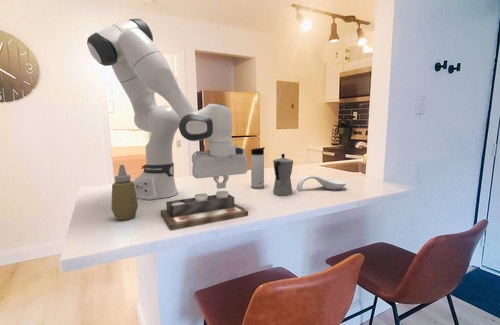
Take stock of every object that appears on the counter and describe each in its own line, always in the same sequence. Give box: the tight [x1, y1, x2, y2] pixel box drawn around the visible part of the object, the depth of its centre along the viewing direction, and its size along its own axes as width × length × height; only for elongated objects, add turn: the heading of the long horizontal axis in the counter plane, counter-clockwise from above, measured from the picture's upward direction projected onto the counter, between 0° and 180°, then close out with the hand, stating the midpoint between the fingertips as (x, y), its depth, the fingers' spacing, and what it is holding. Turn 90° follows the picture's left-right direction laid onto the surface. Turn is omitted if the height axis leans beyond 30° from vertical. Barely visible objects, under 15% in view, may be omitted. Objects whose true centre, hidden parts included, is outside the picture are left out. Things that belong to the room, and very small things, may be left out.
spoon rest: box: [296, 174, 347, 192], centre depth 127 cm, size 24×12×7 cm, turn 102°
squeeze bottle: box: [111, 164, 139, 221], centre depth 88 cm, size 8×8×18 cm
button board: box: [160, 193, 249, 231], centre depth 91 cm, size 26×16×5 cm, turn 119°
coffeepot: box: [272, 153, 294, 197], centre depth 118 cm, size 15×9×18 cm, turn 153°
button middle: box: [194, 193, 209, 202], centre depth 93 cm, size 4×4×3 cm
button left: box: [172, 202, 185, 206], centre depth 90 cm, size 4×4×3 cm
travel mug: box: [250, 147, 266, 190], centre depth 130 cm, size 6×7×20 cm
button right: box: [215, 190, 229, 199], centre depth 97 cm, size 4×4×3 cm
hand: (221, 188), depth 96 cm, fingers closed
